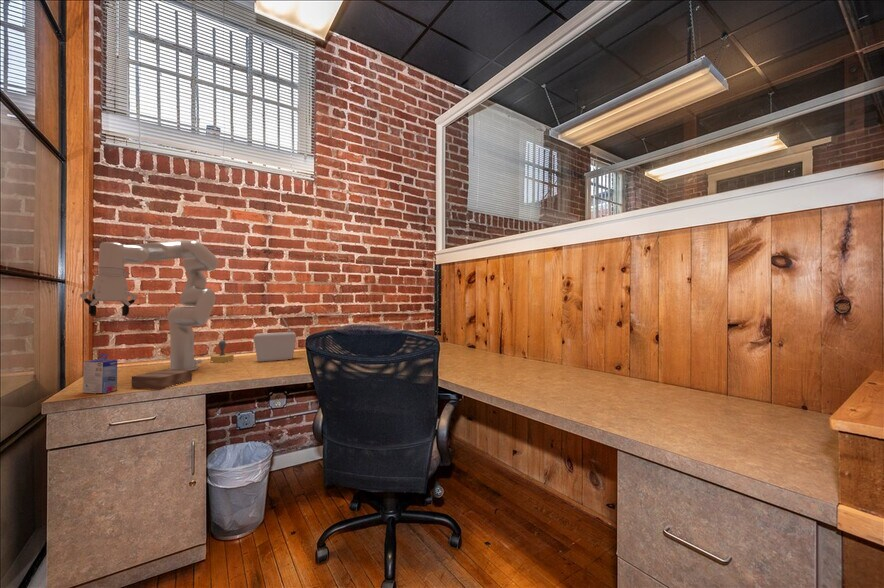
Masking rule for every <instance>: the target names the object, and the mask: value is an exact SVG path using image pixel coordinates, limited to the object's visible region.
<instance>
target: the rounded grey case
mask: <svg viewBox="0 0 884 588" xmlns="http://www.w3.org/2000/svg"><path fill="white" fill-rule="evenodd" d="M281 319H282V321H283V322H284V324H285V325H284V324H282V323H280V325H281V326H285V327H286V328H288V329H287V330H286V331H285V332H283V331H282V332H269V333H268V332H264V333H262V332H261V333H260V331H261V330H263V329H264V328H267V327H269V326H272V325H274V323H271V324H268V325H267V326H264V327H262V328H261V329H260V330H259V331H258V332H257V333H255V334H254V335H253V341H254V347H255V353H256V359H257V362H259V363H263V362H264V361H266V362H277V360H279V361H288V359H290V360H293V358H294V353H295V347H296V341H297V334H296V333H295V332H294V331H293V330H292V329H290V326H288V323H287V322H286V320H285V318H284V317H283V316H281Z"/></svg>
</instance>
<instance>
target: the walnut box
mask: <svg viewBox="0 0 884 588" xmlns="http://www.w3.org/2000/svg"><path fill="white" fill-rule="evenodd" d="M192 372H193V370H169V369H168V368H165V369H160V370H156V371H151V372H146V373H141V374H136V375H133V376H131V388H132V387H136V388H135V389H143V388H151V389H150V390H164V389H167V388H166V387H168V388H170V387H169V386H171V387H173V386H172V385H175V386H177V385H176V384H179V383H182V384H184V383H183V382H186V383H188V382H187V381H190V382H192V381H193V373H192ZM191 380H192V381H191ZM179 385H180V384H179ZM163 388H164V389H163Z"/></svg>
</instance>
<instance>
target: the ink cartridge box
mask: <svg viewBox="0 0 884 588" xmlns="http://www.w3.org/2000/svg"><path fill="white" fill-rule="evenodd" d="M108 357H109V353H101V354H100V355H99V356H98V358H97V359H91V360H86V361H83V374H82V375H83V376H82V378H83V379H82V381H83V382H82V393H83V394H96V393H104V394H107V393H106V392H108V393H111V392H110V391H113V392H116V391H115V390H117V391H118V359H107V358H108Z"/></svg>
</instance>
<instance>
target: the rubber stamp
mask: <svg viewBox="0 0 884 588" xmlns="http://www.w3.org/2000/svg"><path fill="white" fill-rule="evenodd" d="M226 346H227V342H226V341H225V340H223V339H222V340H220V341H219V342H218V347H219V350H220V354H219V353H218V354H214V355H210V362H211V361H213V362H212V363H225V362H227V363H229V362H228V361H231V362H233V361H232V360H234V358H235V357H234V354H231V353H230V354H229V353H227V354H226V353H225V348H226ZM234 361H235V360H234Z"/></svg>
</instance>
